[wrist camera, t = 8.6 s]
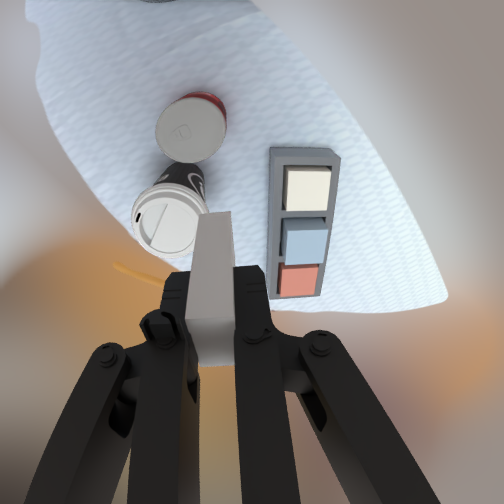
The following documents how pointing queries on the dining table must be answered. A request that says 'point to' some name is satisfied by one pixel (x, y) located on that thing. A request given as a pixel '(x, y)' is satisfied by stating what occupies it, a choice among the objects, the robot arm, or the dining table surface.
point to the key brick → (296, 279)
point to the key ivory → (305, 187)
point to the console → (278, 211)
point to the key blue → (303, 240)
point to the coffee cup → (170, 212)
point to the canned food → (192, 127)
